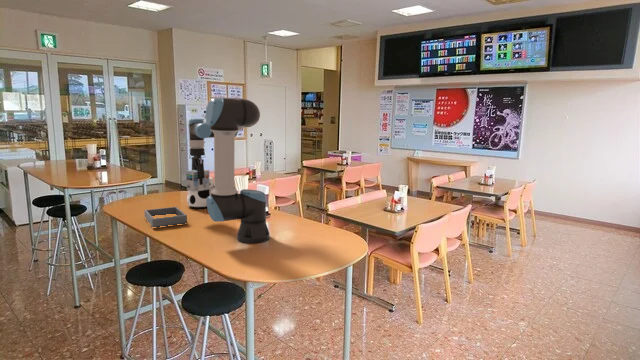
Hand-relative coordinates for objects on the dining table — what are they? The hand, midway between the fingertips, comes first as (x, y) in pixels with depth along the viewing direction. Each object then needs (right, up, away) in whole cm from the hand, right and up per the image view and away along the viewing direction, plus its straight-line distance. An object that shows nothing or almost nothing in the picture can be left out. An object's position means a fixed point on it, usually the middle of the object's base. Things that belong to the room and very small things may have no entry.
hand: (198, 189), depth 212 cm
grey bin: (-17, -17, -3) cm, 24 cm away
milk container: (-8, -12, +32) cm, 35 cm away
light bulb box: (0, -1, 0) cm, 1 cm away
